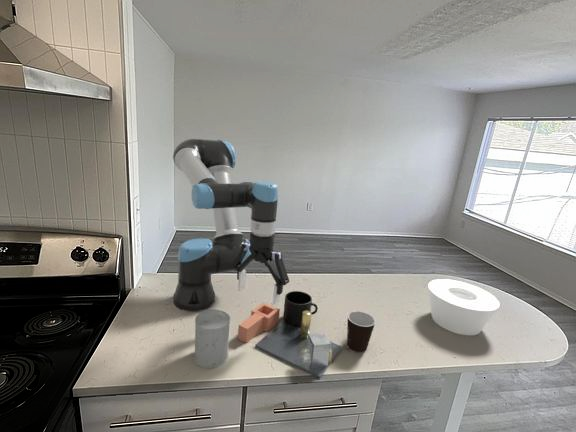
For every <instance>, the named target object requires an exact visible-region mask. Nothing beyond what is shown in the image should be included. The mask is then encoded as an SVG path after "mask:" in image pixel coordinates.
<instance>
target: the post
mask: <svg viewBox="0 0 576 432" xmlns="http://www.w3.org/2000/svg"><path fill="white" fill-rule="evenodd" d="M311 312H312V311H311ZM311 312H310V311H303V315H302V324H301V327H300V329H301V333H300V336H301V337H302V338H308V333H310V329H311V321H312V315H311Z"/></svg>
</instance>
